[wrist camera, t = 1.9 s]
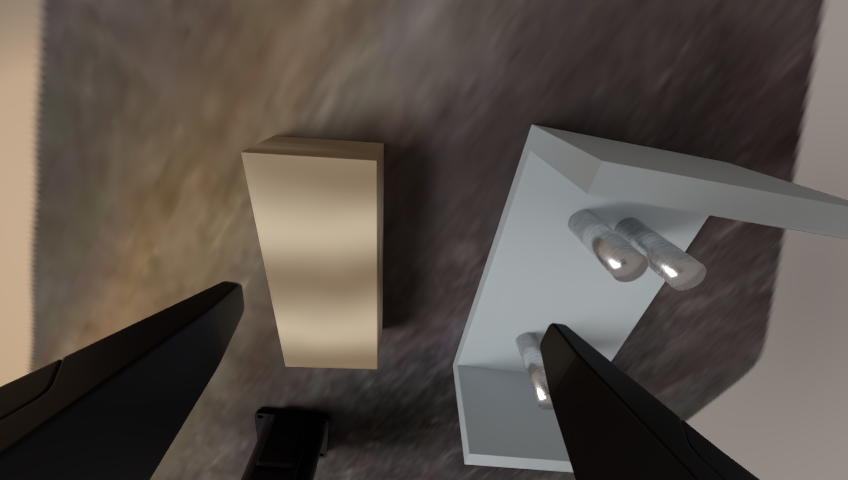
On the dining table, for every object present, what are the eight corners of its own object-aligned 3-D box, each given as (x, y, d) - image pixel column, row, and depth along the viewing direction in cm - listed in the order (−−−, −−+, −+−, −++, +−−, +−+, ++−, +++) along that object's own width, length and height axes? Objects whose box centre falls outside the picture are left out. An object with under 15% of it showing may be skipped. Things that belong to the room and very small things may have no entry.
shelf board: (382, 325, 25) (377, 369, 21) (304, 323, 24) (285, 366, 21) (384, 142, 18) (376, 160, 14) (276, 134, 18) (241, 152, 14)
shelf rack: (586, 379, 28) (639, 477, 21) (452, 365, 26) (464, 464, 20) (726, 162, 19) (895, 215, 12) (531, 124, 17) (602, 161, 11)
